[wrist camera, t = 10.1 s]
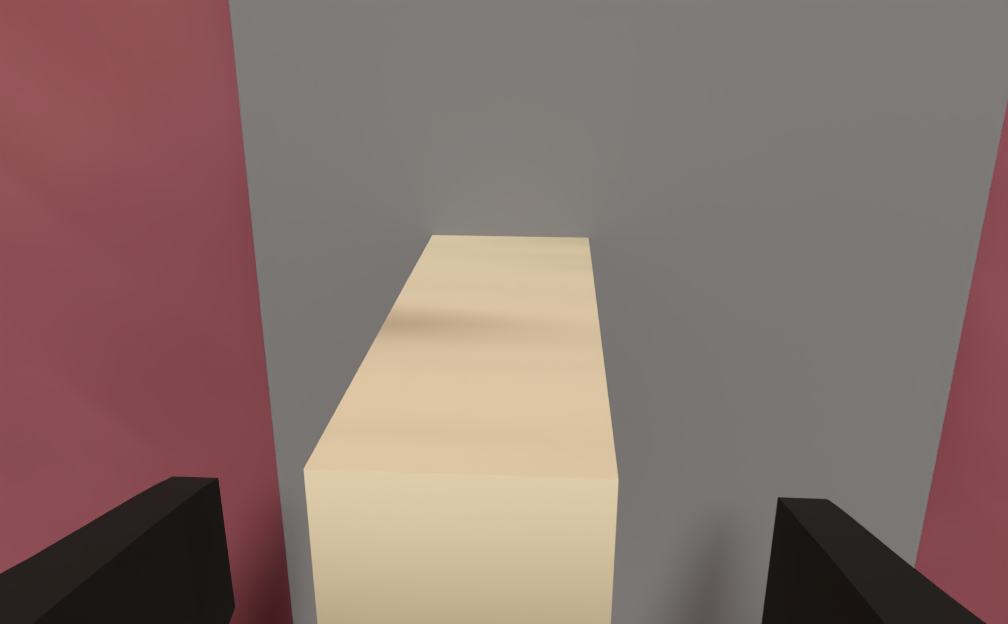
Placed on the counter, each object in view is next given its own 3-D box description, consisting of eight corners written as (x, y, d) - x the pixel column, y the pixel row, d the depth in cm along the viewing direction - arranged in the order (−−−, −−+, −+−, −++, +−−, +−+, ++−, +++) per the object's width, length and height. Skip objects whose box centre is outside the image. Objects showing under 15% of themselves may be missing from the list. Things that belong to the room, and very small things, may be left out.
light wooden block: (576, 567, 15) (589, 1006, 8) (441, 561, 15) (351, 989, 9) (588, 237, 13) (618, 479, 6) (432, 235, 13) (303, 469, 6)
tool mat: (857, 785, 17) (866, 807, 16) (315, 756, 18) (308, 777, 17) (1028, -100, 11) (1048, -106, 11) (231, -96, 12) (219, -100, 12)
